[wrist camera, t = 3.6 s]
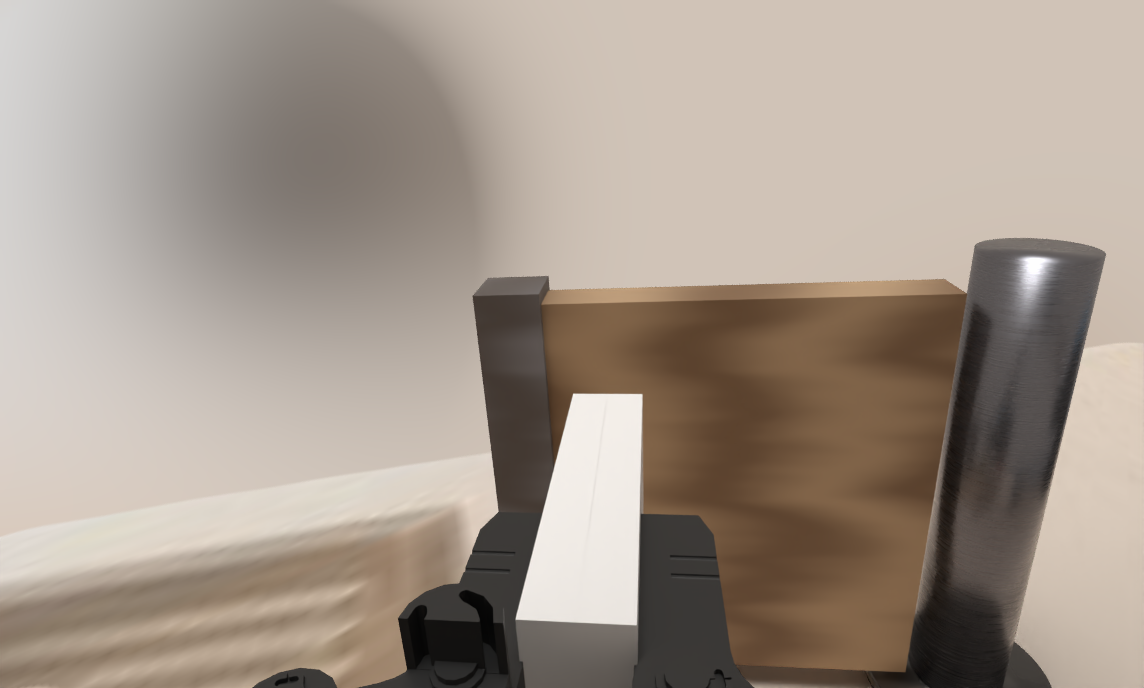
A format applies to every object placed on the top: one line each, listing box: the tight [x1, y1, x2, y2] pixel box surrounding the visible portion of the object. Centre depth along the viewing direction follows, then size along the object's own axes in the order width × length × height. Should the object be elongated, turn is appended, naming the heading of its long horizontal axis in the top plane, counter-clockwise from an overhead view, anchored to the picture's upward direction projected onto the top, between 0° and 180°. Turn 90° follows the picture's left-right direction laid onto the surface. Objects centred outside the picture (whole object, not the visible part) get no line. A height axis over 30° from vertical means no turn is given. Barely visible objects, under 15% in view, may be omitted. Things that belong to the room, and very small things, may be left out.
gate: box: [473, 276, 967, 672], centre depth 22 cm, size 14×2×14 cm, turn 84°
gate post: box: [865, 238, 1106, 688], centre depth 21 cm, size 6×6×16 cm
